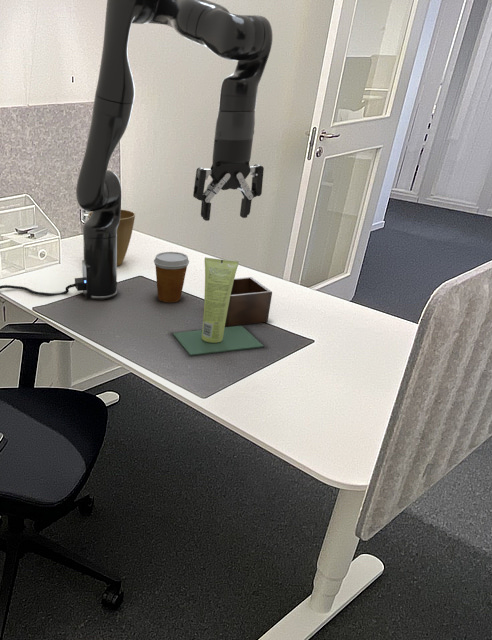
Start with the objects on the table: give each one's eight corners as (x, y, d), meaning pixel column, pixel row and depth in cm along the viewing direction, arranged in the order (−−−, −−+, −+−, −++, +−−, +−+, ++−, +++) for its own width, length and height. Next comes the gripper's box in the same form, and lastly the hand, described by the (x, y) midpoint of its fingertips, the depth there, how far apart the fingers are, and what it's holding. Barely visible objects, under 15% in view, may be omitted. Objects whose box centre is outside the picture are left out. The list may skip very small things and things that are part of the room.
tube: (217, 333, 139) (226, 254, 129) (229, 341, 135) (239, 260, 125) (197, 337, 137) (204, 257, 127) (208, 345, 133) (216, 263, 123)
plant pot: (135, 270, 182) (136, 219, 173) (88, 270, 182) (87, 219, 174) (132, 256, 194) (133, 207, 186) (89, 256, 195) (88, 208, 186)
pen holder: (225, 326, 143) (228, 296, 139) (207, 309, 153) (210, 280, 149) (267, 321, 145) (272, 292, 141) (247, 305, 155) (251, 276, 150)
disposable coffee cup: (185, 305, 155) (188, 262, 149) (150, 303, 157) (152, 261, 151) (187, 293, 163) (190, 252, 157) (153, 291, 165) (155, 250, 159)
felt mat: (190, 356, 130) (190, 354, 129) (172, 334, 140) (172, 333, 139) (263, 347, 133) (263, 345, 132) (241, 326, 143) (241, 325, 142)
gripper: (258, 132, 118) (248, 212, 126) (193, 135, 115) (187, 216, 124) (275, 136, 111) (263, 220, 120) (207, 139, 109) (199, 225, 118)
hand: (224, 218), depth 122 cm, fingers open, 8 cm apart
